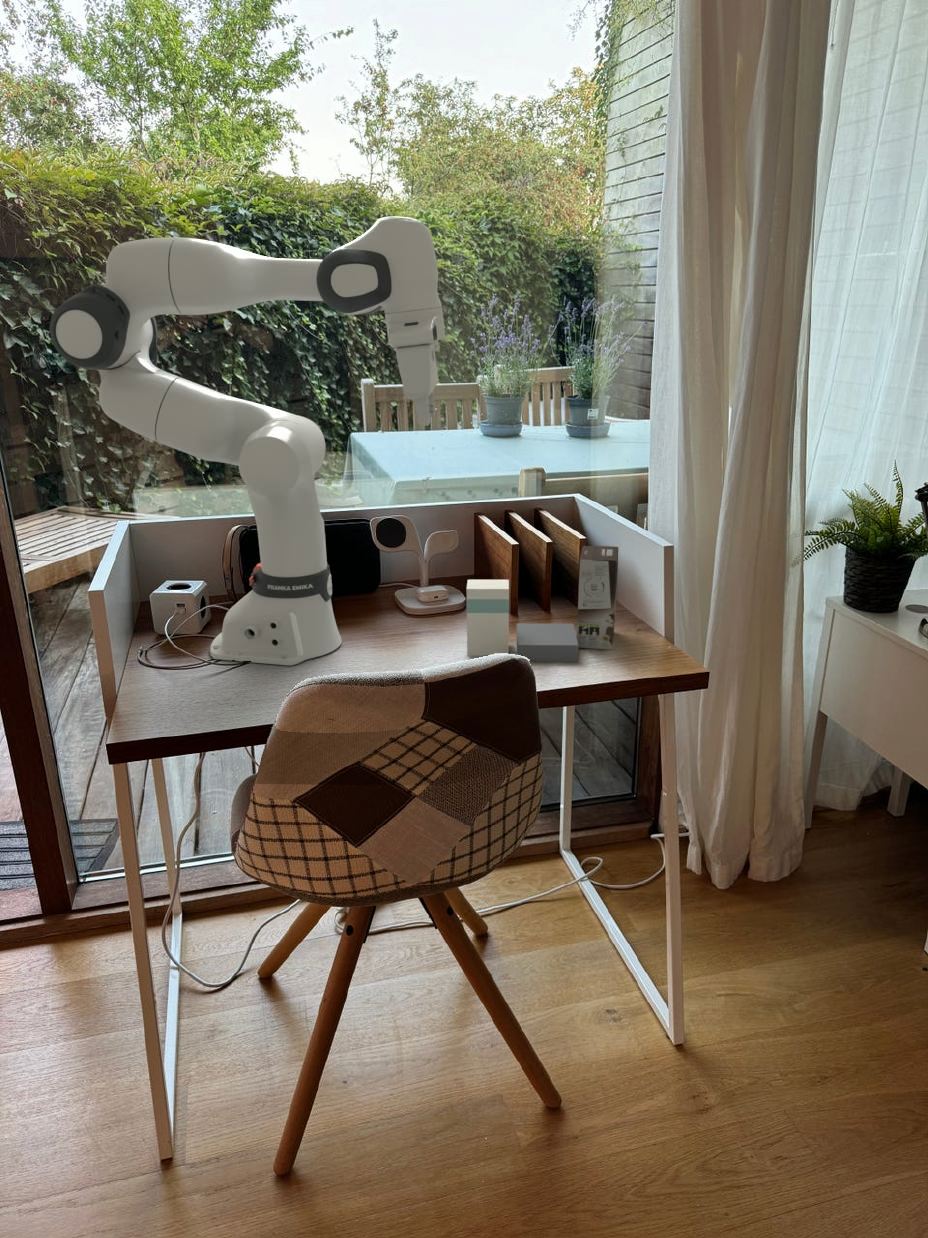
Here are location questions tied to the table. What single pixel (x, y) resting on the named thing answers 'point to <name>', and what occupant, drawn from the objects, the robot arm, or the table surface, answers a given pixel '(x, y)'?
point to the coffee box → (597, 597)
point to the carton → (487, 617)
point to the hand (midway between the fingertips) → (427, 420)
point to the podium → (547, 642)
